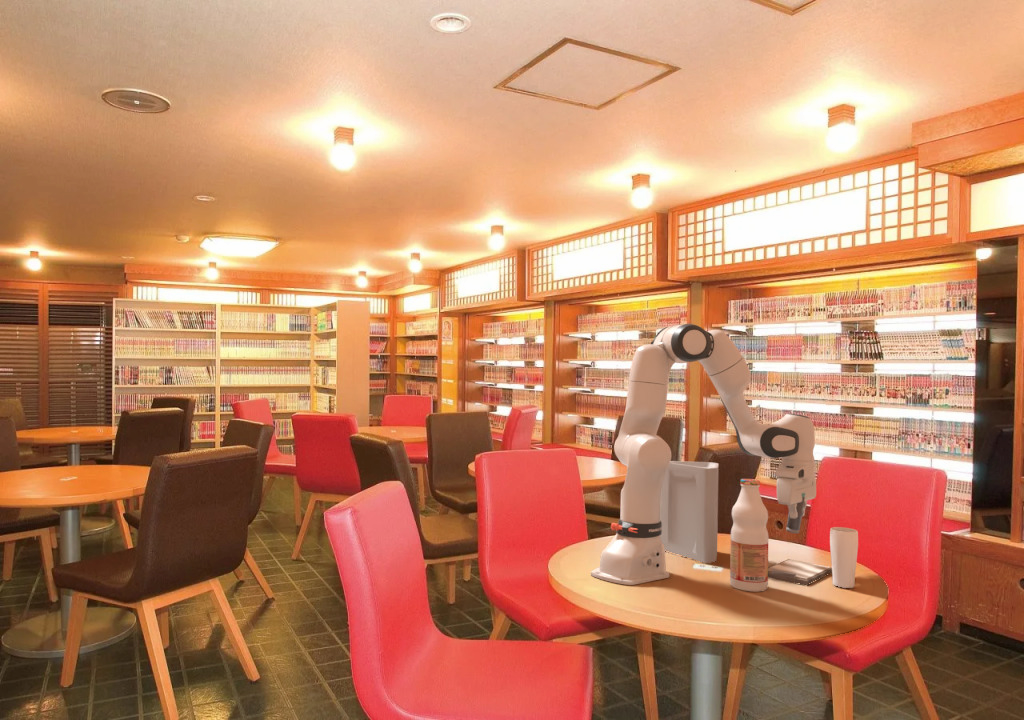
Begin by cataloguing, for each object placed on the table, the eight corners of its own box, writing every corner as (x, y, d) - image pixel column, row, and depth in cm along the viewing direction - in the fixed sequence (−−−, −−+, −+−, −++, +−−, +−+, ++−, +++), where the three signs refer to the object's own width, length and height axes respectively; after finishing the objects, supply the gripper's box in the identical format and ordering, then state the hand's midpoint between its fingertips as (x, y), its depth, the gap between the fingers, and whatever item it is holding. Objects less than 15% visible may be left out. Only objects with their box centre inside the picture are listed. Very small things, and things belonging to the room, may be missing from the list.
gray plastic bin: (738, 557, 213) (739, 466, 214) (705, 563, 205) (707, 468, 206) (690, 544, 229) (692, 459, 230) (658, 550, 221) (660, 461, 222)
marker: (796, 534, 202) (802, 494, 200) (783, 530, 204) (790, 490, 203) (801, 531, 204) (807, 492, 203) (789, 527, 207) (795, 489, 205)
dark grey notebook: (806, 585, 185) (806, 577, 185) (759, 575, 194) (759, 567, 194) (833, 572, 199) (833, 564, 199) (788, 563, 208) (788, 555, 208)
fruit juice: (722, 585, 184) (723, 478, 185) (744, 580, 189) (746, 476, 190) (752, 594, 176) (754, 483, 177) (775, 589, 181) (776, 481, 182)
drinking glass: (855, 584, 187) (856, 528, 188) (859, 591, 181) (859, 533, 181) (828, 581, 190) (828, 526, 190) (830, 588, 183) (831, 530, 184)
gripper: (801, 465, 213) (800, 511, 213) (772, 470, 198) (772, 519, 198) (822, 468, 209) (821, 514, 208) (794, 473, 194) (794, 523, 194)
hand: (797, 517), depth 203 cm, fingers closed on marker, 4 cm apart
